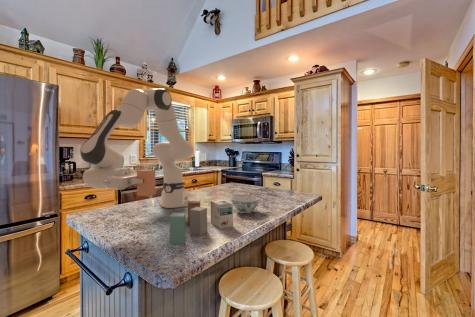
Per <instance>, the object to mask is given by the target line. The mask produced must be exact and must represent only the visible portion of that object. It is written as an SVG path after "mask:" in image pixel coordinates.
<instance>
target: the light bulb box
mask: <svg viewBox="0 0 475 317" xmlns="http://www.w3.org/2000/svg"><path fill="white" fill-rule="evenodd" d="M210 224H212V225H214V226H216V228H218V229H219V230H221V229H227V228H228V229H229V228H233V227H234V205H233V202H231V201H228V200H226V199H223V198H220V199H211V200H210Z"/></svg>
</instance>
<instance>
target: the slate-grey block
mask: <svg viewBox="0 0 475 317" xmlns="http://www.w3.org/2000/svg"><path fill="white" fill-rule="evenodd" d="M207 232H208V208H207V207H202V206H200V207H195V208H192V209H190V225H189V233H190V235H196V236H199V237H200V236H203V235H205V233H207Z"/></svg>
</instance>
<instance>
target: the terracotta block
mask: <svg viewBox="0 0 475 317" xmlns="http://www.w3.org/2000/svg"><path fill="white" fill-rule="evenodd" d="M136 171H137V179H144V183H142V184H136V196H139V197H150V196H155V195H156V190H157V189H156V169H141V170H136Z"/></svg>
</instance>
